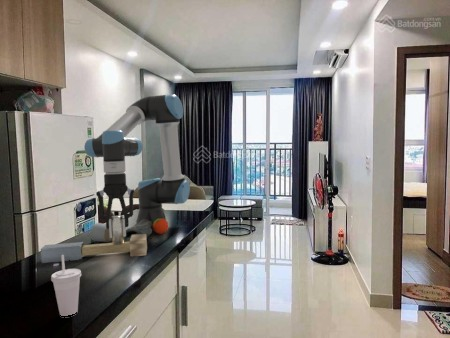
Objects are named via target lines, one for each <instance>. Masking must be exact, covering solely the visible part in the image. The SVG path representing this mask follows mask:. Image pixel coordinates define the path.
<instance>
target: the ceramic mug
mask: <svg viewBox="0 0 450 338" xmlns="http://www.w3.org/2000/svg"><path fill="white" fill-rule="evenodd" d="M90 239H91V240H92V241H94V242H99V243H101V242H102V243H112V242H113V240H112V238H110V233H109V229H107V228H106V223H101V222H96V223H94V224H93V225H92V227H91V229H90Z"/></svg>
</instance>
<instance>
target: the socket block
mask: <svg viewBox="0 0 450 338" xmlns="http://www.w3.org/2000/svg"><path fill="white" fill-rule="evenodd" d="M147 238H148V237H146V234H137V235H131V238H130V252H129V253H130V255H129V256H130V257H141V256H142V257H143V256H147V251H148V241H147Z"/></svg>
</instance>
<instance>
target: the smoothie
mask: <svg viewBox="0 0 450 338" xmlns="http://www.w3.org/2000/svg"><path fill="white" fill-rule="evenodd" d="M61 258H62V261H61V270H59V271H56V272H54V273H52V274H51V276H50V277H51V278H50V281H51V282H52V283H53V288H54V291H55V292H54V293H55V298H56V302H57V307H58V312H59V316H60V315H61V316H68V315H72V314H75V313H76V312H77V313H78V310H79V294H80V282H81V281H80V279H81V276H82V271H81V269H79V268H67V269H66V266H65V261H64V255H61ZM75 315H76V314H75ZM61 316H60V317H61Z"/></svg>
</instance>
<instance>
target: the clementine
mask: <svg viewBox="0 0 450 338" xmlns="http://www.w3.org/2000/svg"><path fill="white" fill-rule="evenodd" d="M168 228H169V223H168V221H167V219H166V220H165V219H163V218H160V219H157V220H155V222H154V224H153V228H152V230H154V232H155V233H156V234H158V235H160V234H161V235H162V234H164V233H166V232H168Z"/></svg>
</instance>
